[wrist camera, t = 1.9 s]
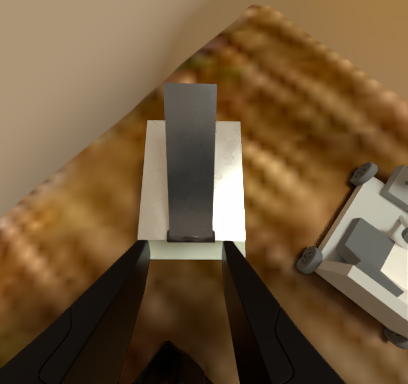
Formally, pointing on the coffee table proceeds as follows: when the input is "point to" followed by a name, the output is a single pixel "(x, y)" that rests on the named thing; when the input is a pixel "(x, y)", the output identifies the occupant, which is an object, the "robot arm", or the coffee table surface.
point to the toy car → (370, 250)
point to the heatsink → (223, 184)
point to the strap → (190, 160)
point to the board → (189, 249)
